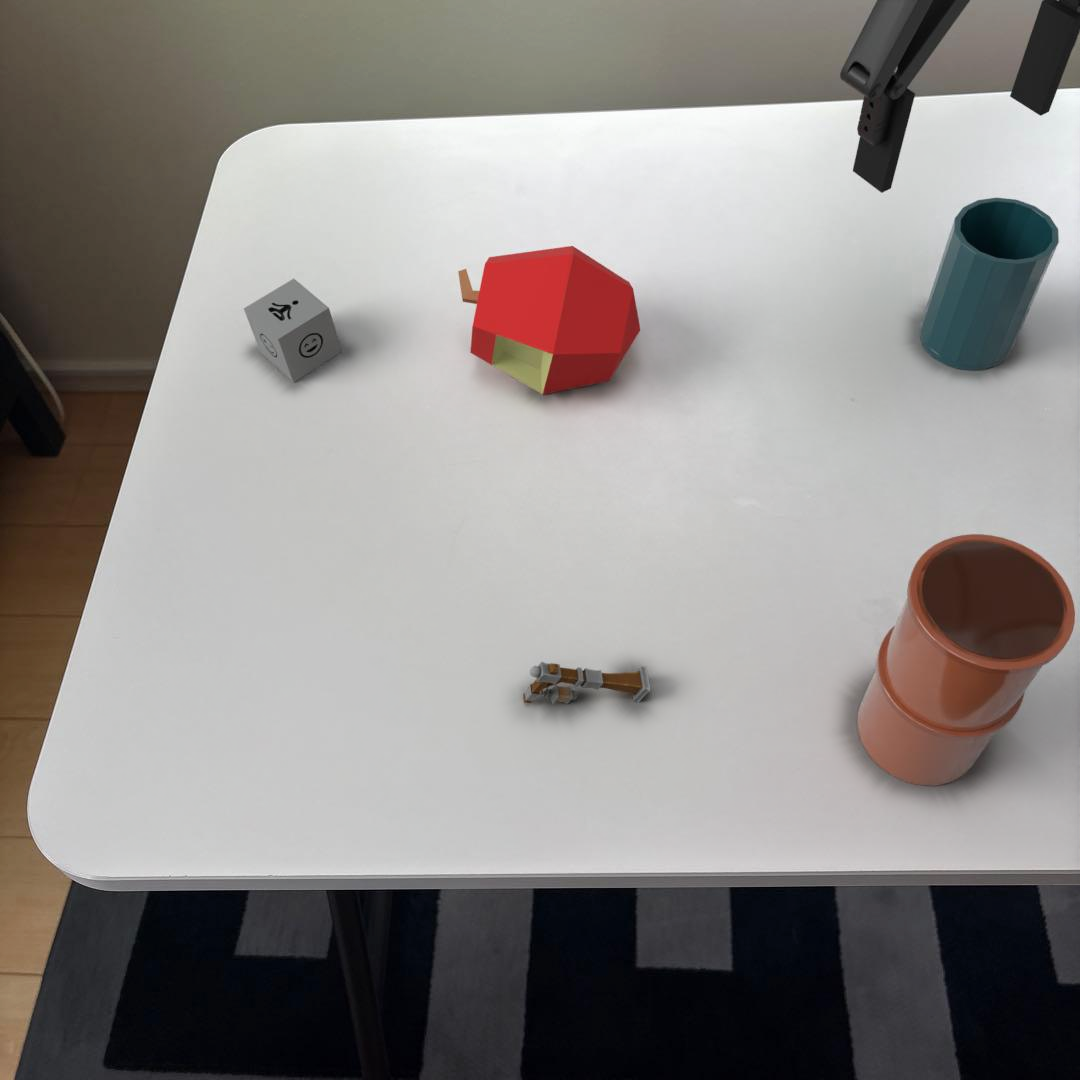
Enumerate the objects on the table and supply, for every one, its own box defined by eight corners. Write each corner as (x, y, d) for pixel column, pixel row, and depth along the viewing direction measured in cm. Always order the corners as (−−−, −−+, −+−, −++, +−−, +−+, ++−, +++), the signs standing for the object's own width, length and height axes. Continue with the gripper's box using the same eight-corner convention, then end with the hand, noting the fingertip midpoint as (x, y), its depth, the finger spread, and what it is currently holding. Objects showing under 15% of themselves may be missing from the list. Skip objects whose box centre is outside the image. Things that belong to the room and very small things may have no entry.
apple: (618, 436, 85) (433, 397, 84) (629, 335, 92) (459, 299, 91) (654, 323, 75) (446, 279, 75) (664, 221, 83) (474, 180, 82)
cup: (1011, 376, 84) (1059, 268, 75) (917, 363, 86) (952, 256, 77) (1012, 313, 88) (1057, 203, 79) (921, 301, 90) (956, 192, 81)
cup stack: (984, 803, 65) (1078, 682, 52) (847, 775, 67) (905, 651, 53) (986, 685, 70) (1074, 546, 56) (857, 661, 71) (914, 521, 58)
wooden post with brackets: (509, 685, 70) (533, 652, 67) (619, 694, 73) (647, 663, 70) (511, 709, 69) (536, 677, 66) (622, 719, 72) (651, 688, 69)
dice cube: (260, 352, 91) (243, 308, 87) (308, 322, 92) (293, 278, 88) (293, 382, 88) (277, 339, 84) (341, 351, 90) (328, 307, 86)
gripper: (1182, -328, 57) (1047, 49, 74) (815, -199, 50) (762, 182, 68) (1308, -288, 53) (1135, 101, 70) (928, -142, 46) (841, 246, 64)
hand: (952, 141), depth 69 cm, fingers open, 13 cm apart
